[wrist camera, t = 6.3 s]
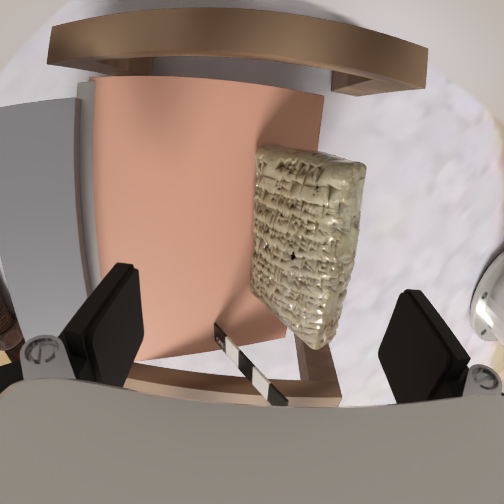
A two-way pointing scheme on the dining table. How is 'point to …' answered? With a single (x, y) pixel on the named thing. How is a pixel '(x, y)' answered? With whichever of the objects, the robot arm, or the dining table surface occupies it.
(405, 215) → the dining table surface
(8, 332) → the bolt
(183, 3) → the dining table surface
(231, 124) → the trapdoor
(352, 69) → the frame
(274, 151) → the cuneiform tablet
